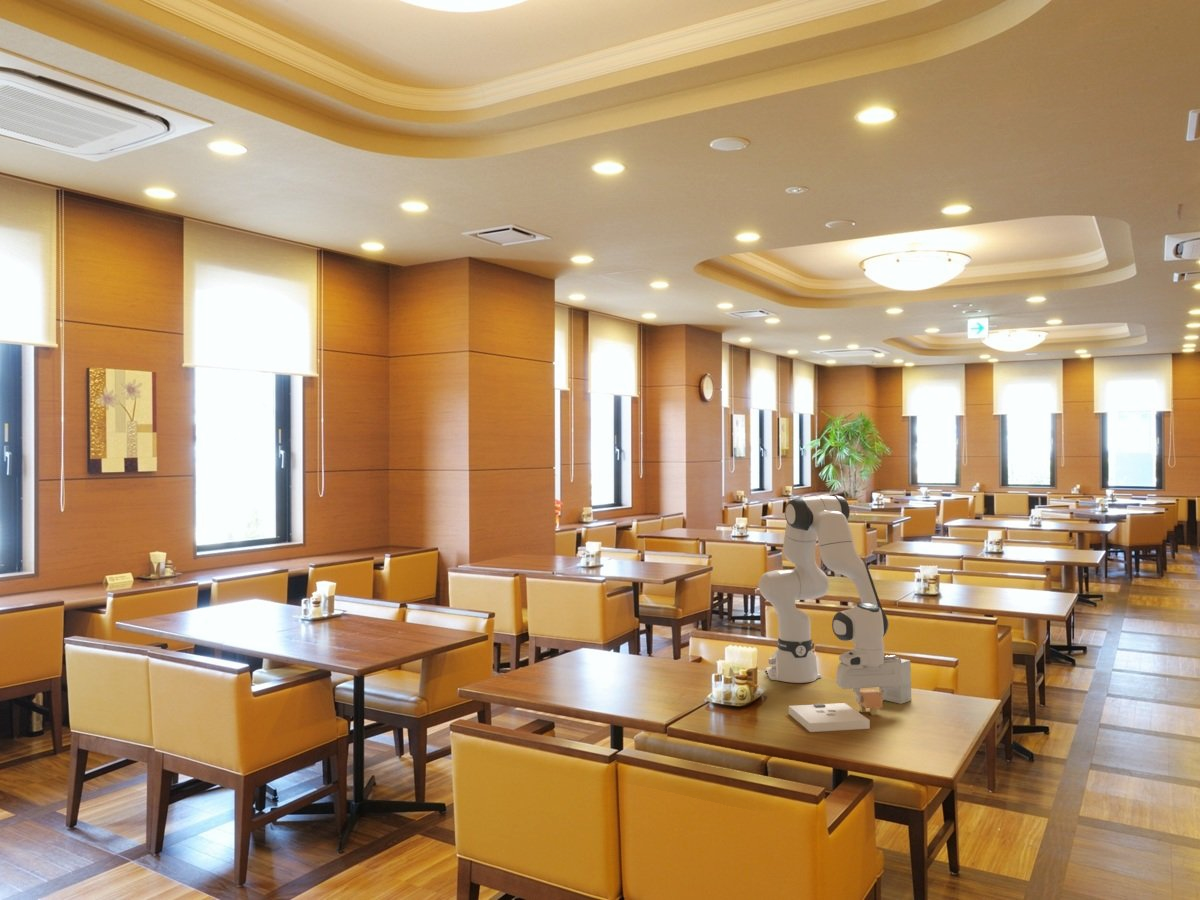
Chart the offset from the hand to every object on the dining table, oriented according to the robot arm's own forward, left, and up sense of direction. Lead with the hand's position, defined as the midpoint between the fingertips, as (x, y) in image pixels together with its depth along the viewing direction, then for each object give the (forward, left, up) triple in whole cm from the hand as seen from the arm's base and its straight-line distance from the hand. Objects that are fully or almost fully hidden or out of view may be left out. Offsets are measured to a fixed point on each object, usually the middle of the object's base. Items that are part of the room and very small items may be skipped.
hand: (870, 701), depth 267 cm
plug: (0, 0, -3) cm, 3 cm away
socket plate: (+6, -16, -3) cm, 17 cm away
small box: (-12, +14, -4) cm, 19 cm away
